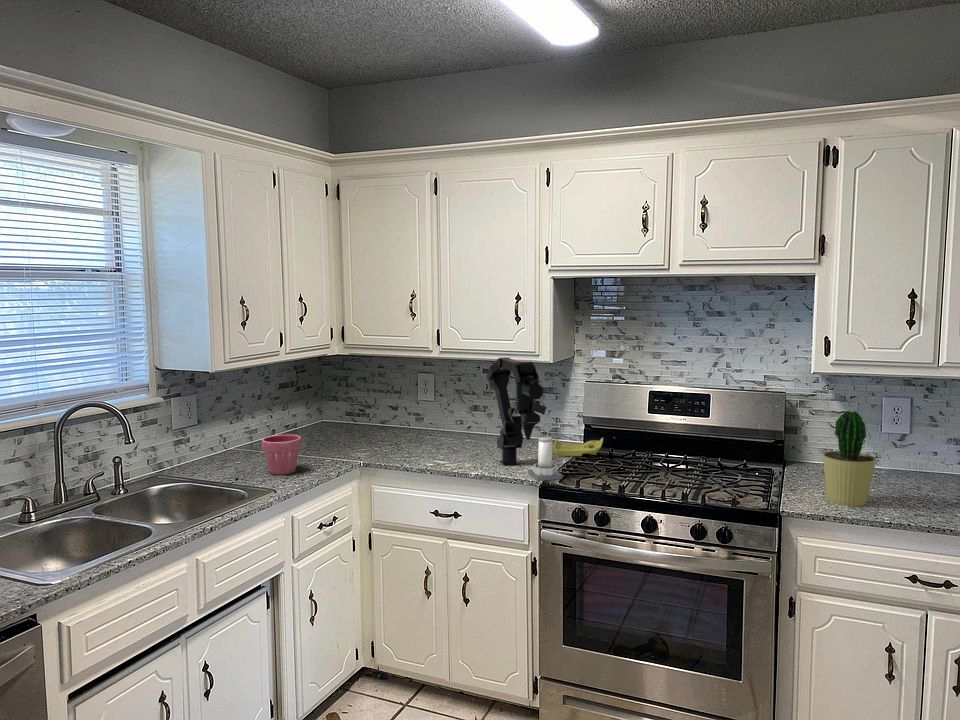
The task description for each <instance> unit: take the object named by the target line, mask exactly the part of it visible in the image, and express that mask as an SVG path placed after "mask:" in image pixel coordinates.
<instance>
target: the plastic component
mask: <svg viewBox="0 0 960 720" xmlns="http://www.w3.org/2000/svg"><path fill="white" fill-rule="evenodd" d="M603 443H604V437H601V438H600V439H599V440H595V439H594V440H588V441H586V442H584V443H559V438H554V443H553V445H552V450H553V453H554V455H555V456H557V455H559V457H582V456H583V454H588V455H589V454H590V455H595V456H597V453H598V451H600V450H601V448H602V446H603ZM590 455H589V456H590Z"/></svg>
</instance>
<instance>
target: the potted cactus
mask: <svg viewBox="0 0 960 720" xmlns="http://www.w3.org/2000/svg"><path fill="white" fill-rule="evenodd" d="M859 413H860V412H858V411H856V410H852V411H850V410H849V411H844V412H843V413H841V414H840V415H839V416H838V418H837V419H834V421H835V424H833V426H834V427H832V429H834V433H833V436H835V438H837V439H836V441H837V442H838V443H837V446H838V449H837V450H829V451H824V452H823V453H822V460H823V461H822V462H823V469H824V470H823V471H824V472H823V473H824V479H825V481H824V482H825V490H826V498H827V500H828V501H829V502H831V503H832V504H837V505H840V506H847V507H864V506H865V505H866V504H867V502H868V498H869V494H870V489H871V484H872V482H873V481H872V479H873V475H874V471H875V467H876V463H877V457H875V456H874V455H871V454H866V453H864V452H862V450H863V444H864V443H863V442H867V440H866V438H867V437H868V436H867V435H868V434H867V430H866V429H868V427H866V423H867V422H866V421H864V420H863V416H862V414H859Z"/></svg>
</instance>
